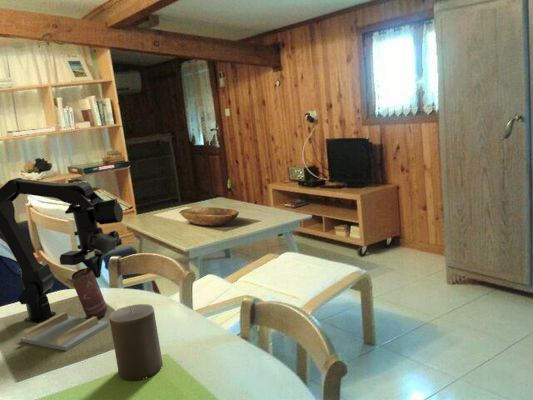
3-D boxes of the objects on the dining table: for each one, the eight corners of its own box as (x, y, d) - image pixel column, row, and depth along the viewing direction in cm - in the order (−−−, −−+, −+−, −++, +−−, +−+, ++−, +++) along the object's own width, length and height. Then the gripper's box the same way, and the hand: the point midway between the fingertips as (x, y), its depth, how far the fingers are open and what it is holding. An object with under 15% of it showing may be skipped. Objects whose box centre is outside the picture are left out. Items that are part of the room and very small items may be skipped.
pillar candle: (140, 384, 105) (129, 318, 103) (109, 375, 111) (98, 312, 108) (172, 362, 113) (162, 300, 111) (141, 355, 119) (131, 295, 116)
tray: (21, 341, 134) (18, 331, 134) (64, 318, 147) (62, 309, 146) (66, 350, 126) (64, 339, 125) (109, 325, 138) (107, 315, 137)
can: (111, 305, 148) (95, 265, 143) (103, 318, 143) (86, 277, 137) (92, 308, 149) (76, 268, 144) (83, 321, 143) (66, 280, 138)
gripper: (81, 236, 131) (93, 291, 134) (130, 217, 147) (140, 267, 150) (52, 236, 136) (65, 289, 139) (103, 217, 152) (113, 265, 155)
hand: (97, 277), depth 146 cm, fingers closed
